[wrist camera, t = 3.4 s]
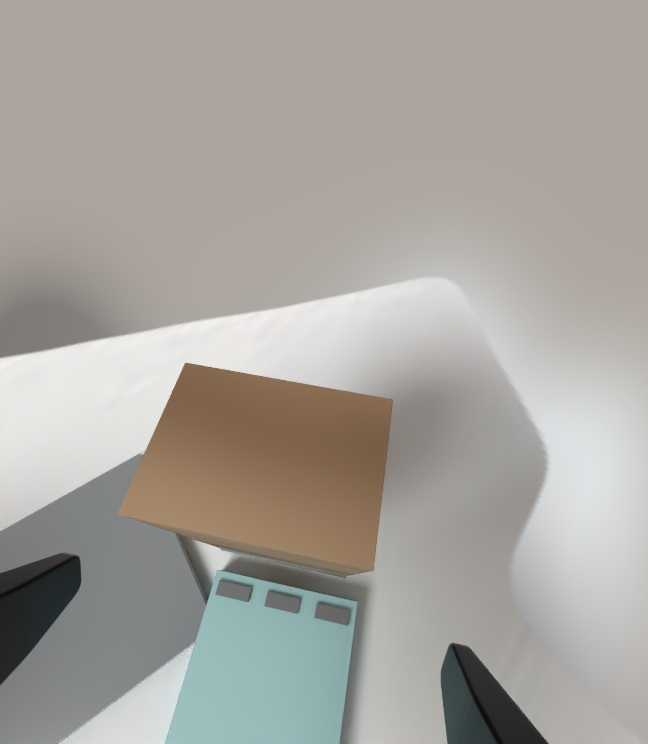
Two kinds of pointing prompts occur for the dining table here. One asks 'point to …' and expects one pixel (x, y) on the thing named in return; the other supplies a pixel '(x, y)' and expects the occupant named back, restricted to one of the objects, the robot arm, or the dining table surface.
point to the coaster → (98, 610)
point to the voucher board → (266, 666)
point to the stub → (267, 469)
